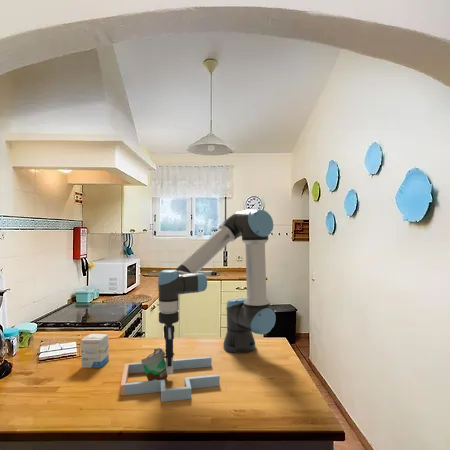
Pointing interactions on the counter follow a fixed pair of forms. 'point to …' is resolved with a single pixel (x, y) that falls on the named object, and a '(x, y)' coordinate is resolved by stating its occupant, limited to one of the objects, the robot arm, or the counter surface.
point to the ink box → (94, 351)
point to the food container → (155, 365)
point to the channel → (159, 385)
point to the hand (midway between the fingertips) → (169, 373)
